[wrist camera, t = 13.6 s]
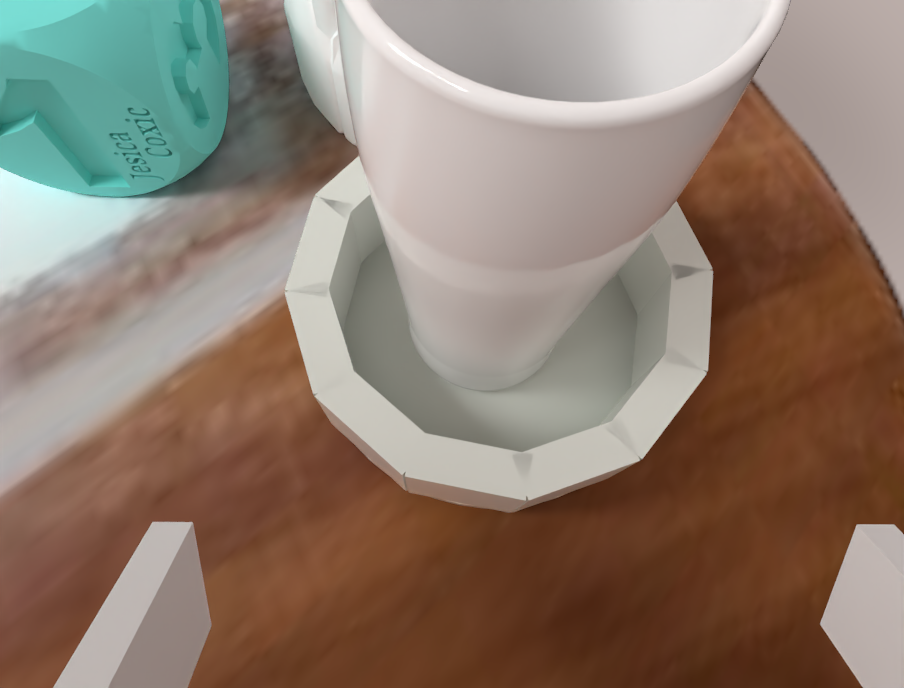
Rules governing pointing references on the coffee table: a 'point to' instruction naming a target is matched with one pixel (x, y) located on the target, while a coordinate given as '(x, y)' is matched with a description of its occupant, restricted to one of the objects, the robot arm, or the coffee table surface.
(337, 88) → the decorative vase
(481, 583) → the coffee table surface
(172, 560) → the robot arm
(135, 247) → the coffee table surface
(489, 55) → the drinking glass
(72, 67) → the decorative dice
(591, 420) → the dish
